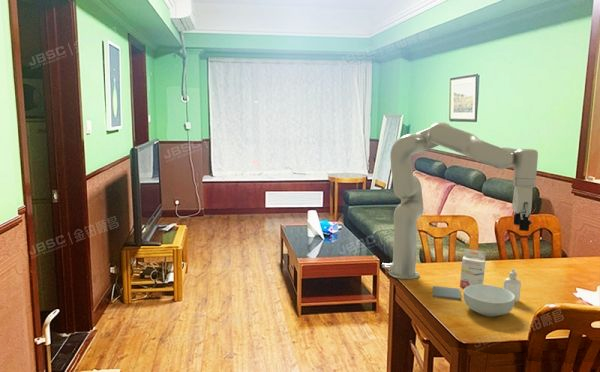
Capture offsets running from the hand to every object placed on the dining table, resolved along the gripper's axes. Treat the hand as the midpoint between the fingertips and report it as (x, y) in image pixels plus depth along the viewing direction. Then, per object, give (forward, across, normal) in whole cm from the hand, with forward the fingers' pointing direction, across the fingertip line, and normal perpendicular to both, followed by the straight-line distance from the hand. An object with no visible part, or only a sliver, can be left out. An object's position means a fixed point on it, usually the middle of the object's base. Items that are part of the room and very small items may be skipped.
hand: (520, 227), depth 176 cm
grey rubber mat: (+26, +6, -26) cm, 37 cm away
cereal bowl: (+27, +20, -13) cm, 36 cm away
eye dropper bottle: (+27, +6, -3) cm, 28 cm away
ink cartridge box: (+26, -4, -16) cm, 31 cm away
